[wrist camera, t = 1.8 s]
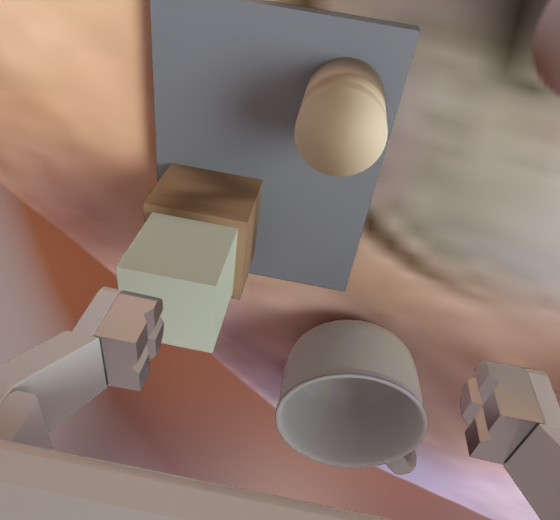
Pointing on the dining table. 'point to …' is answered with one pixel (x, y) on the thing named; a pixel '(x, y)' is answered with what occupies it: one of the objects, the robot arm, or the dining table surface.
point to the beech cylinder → (342, 118)
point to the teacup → (352, 398)
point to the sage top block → (183, 276)
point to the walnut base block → (212, 207)
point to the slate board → (270, 117)
